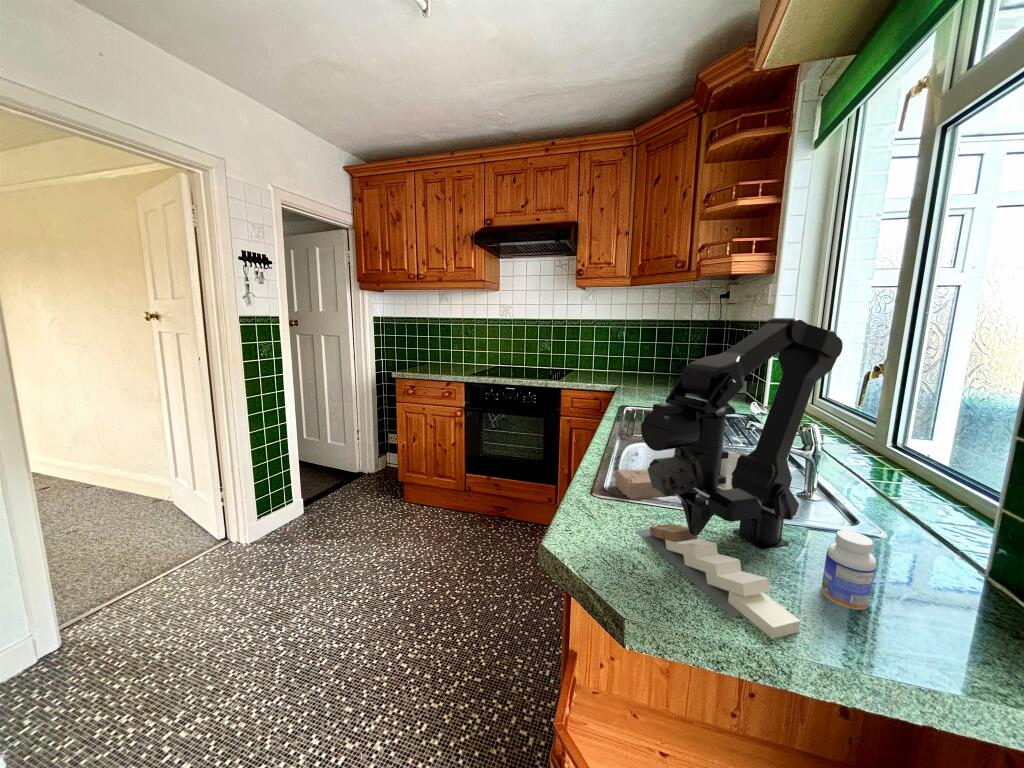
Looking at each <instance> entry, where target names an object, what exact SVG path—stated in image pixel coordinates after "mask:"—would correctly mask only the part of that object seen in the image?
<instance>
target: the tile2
mask: <svg viewBox="0 0 1024 768" xmlns="http://www.w3.org/2000/svg"><path fill="white" fill-rule="evenodd" d="M665 542H666V549H667V550H670V551H673V552H677V553H680V554H684V555H687V556H691V557H694V558H696V557H702V556H707V555H713V554H719V552H718V547H717V546H718V545H717V542H713V541H708V540H704V539H701V538H698V539H693V540H687V541H681V542H672V541H669V540H665Z"/></svg>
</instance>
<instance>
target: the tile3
mask: <svg viewBox="0 0 1024 768" xmlns="http://www.w3.org/2000/svg"><path fill="white" fill-rule="evenodd" d="M683 556H684V562H685V565H687V566H690V567H693V568H696V569H699V570H701V571H704V572H707V573H710V574H713V575H716V576H720V575H724V574H729V573H734V572H739V571H742V566H741V560H740V559H738V558H736V557H735V558H734V557H733V556H732V557H731V556H727V555H725V554H722V553H721V554H720V553H718V554H713V555H707V556H702V557H696V558H694V557H691V556H687V555H684V554H683Z"/></svg>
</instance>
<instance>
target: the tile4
mask: <svg viewBox="0 0 1024 768" xmlns="http://www.w3.org/2000/svg"><path fill="white" fill-rule="evenodd" d="M705 573H706V578H707V584H710V585H712V586H715V587H718V588H721V589H724V590H727V591H730V592H733V593H736V594H739V595H742V596H749V595H754V594H758V593H766V592H771V587H770V582H769V581H770V580H769V578H768V577H766V576H761V575H757V574H754V573H749V572H746V571H742V570H741V571H739V572H734V573H729V574H724V575H720V576H716V575H713V574H710V573H707V572H705Z"/></svg>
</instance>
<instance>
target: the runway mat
mask: <svg viewBox="0 0 1024 768" xmlns="http://www.w3.org/2000/svg"><path fill="white" fill-rule="evenodd" d="M634 532H635V533H636V534H637V535H639V536H640V537H641V539H643V540H644V541H645V542H647V544H649V545H650V546H651V547H652V548H654V549H655V550H656V552H657V553H659V554H660V555H661V556H662V557H664V558H665V560H667V561H668V562H669V563H670V564H671V565H672V566H674V567H675V568H676V570H678V571H679V572H681V574H682V575H684V576H685V577H686V578H687V579H688V580H689V581H691V582H692V583H693V584H694V585H695V586H696V587H697V588H699V590H701V591H702V592H703V593H705V595H706V596H708V597H709V598H710V599H711V600H712V601H714V602H715V603H716V605H718V606H719V607H720V608H721V609H722V610H724V611H725V612H726V613H727V614H728V615H729V616H730V617H732V618H734V617H738V616H744V615H743V614H742V613H741V612H740V611H738V610H737V609H736V608H735V607H734V606H733V605H731V604H730V603H729V602H728V597H729V591H727V590H724V589H721V588H718V587H715V586H712V585H710V584H707V578H706V573H705V572H704V571H701V570H699V569H696V568H693V567H690V566H687V565H685V562H684V556H683V554H680V553H677V552H673V551H670V550H667V549H666V542H665V539H661V538H657V537H653V536H651V534H650V528H647V529H646V528H645V529H640V530H638V529H637V530H634Z"/></svg>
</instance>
